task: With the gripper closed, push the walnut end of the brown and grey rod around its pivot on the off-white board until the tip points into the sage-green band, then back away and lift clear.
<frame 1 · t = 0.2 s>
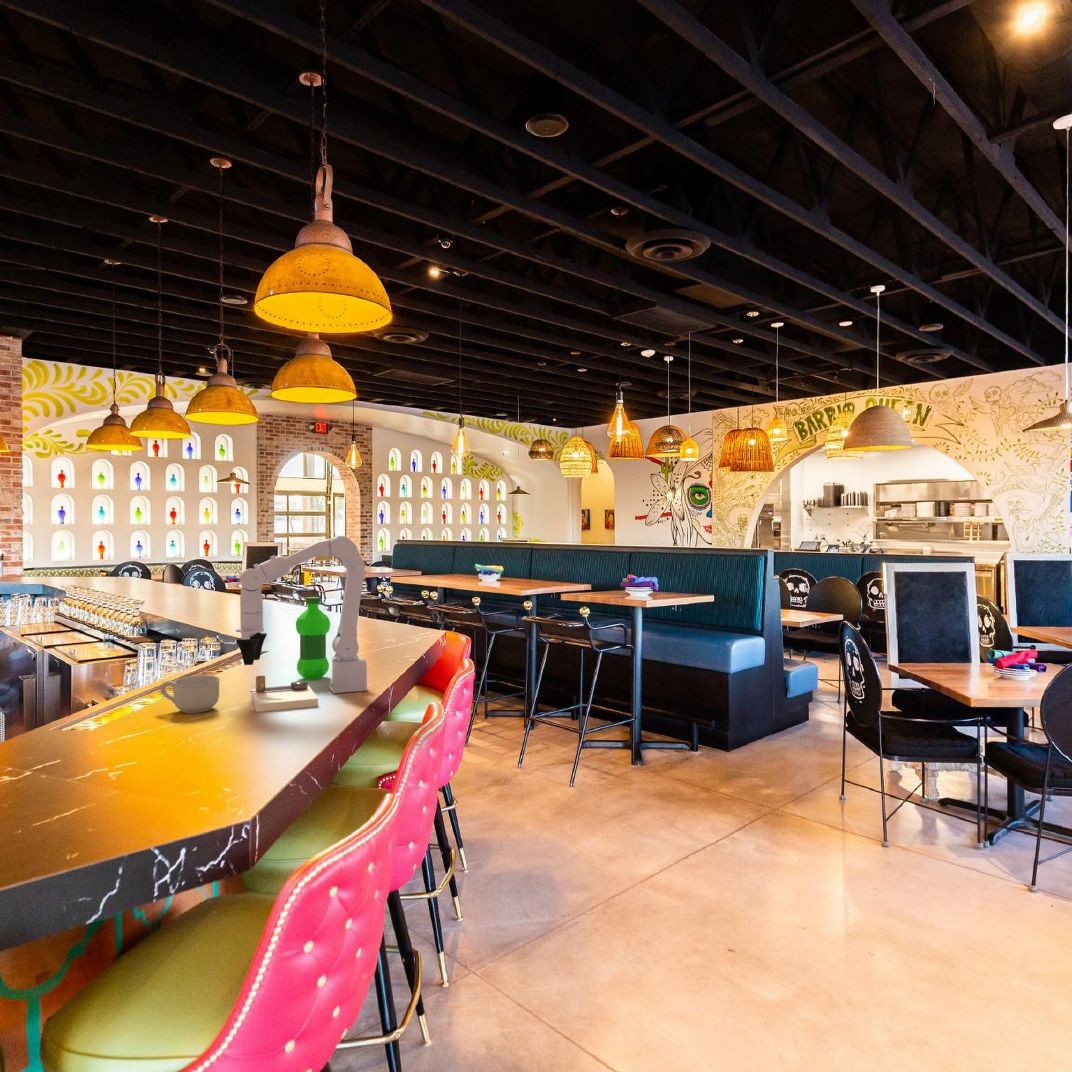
hand: (252, 662, 200), 10 cm above the bar counter, fingers open, 7 cm apart
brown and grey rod: (279, 682, 199), point 4 cm above the bar counter, hinge at 0.0°
teacup: (190, 711, 185), on the bar counter
plastic bottle: (312, 678, 227), on the bar counter
dial board: (283, 701, 195), on the bar counter
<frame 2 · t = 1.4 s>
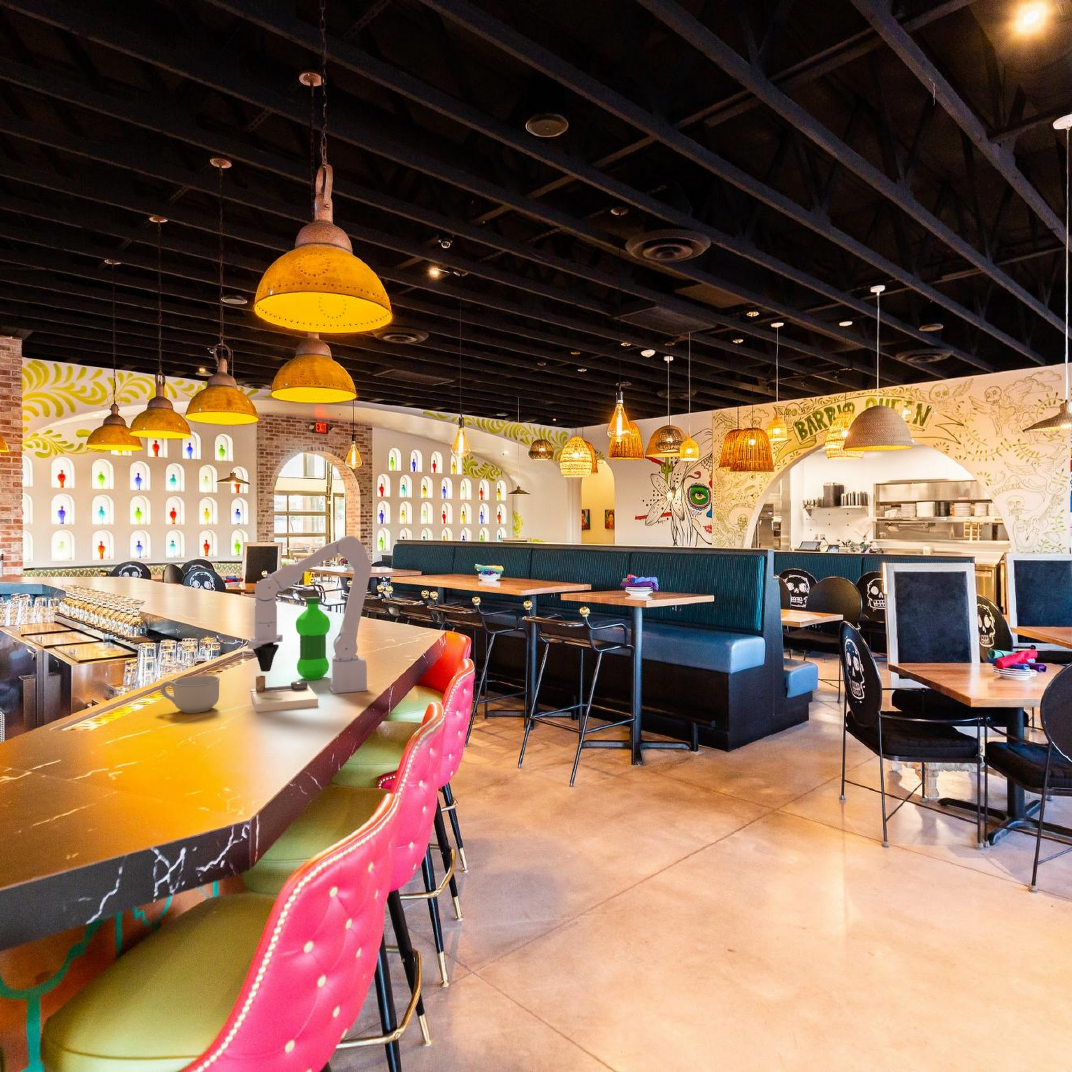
hand: (265, 671, 203), 7 cm above the bar counter, fingers closed
nothing on the bar counter moved.
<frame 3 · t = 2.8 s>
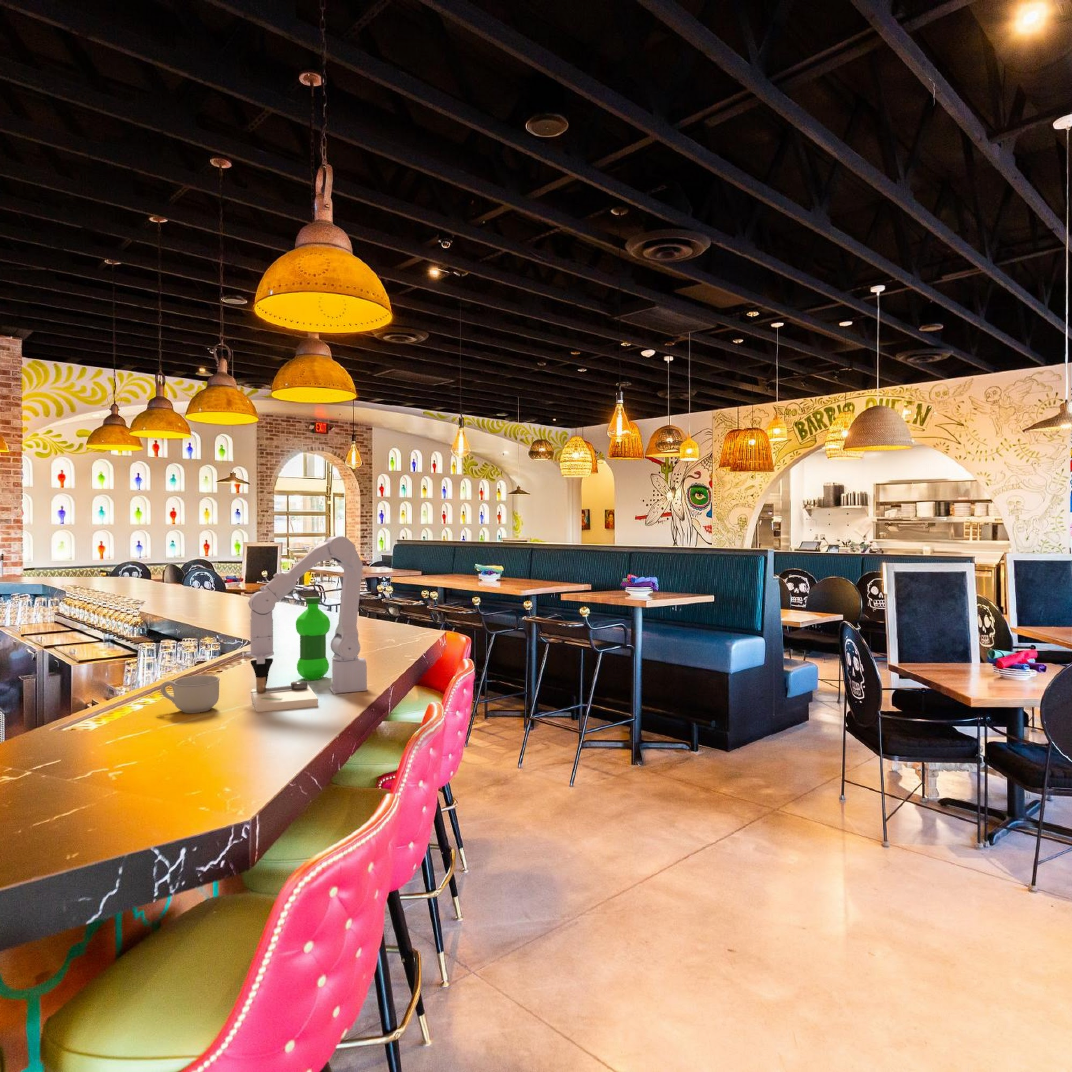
hand: (261, 686, 198), 3 cm above the bar counter, fingers closed
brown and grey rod: (279, 682, 198), point 4 cm above the bar counter, hinge at 6.1°, touching gripper
everything else where it was.
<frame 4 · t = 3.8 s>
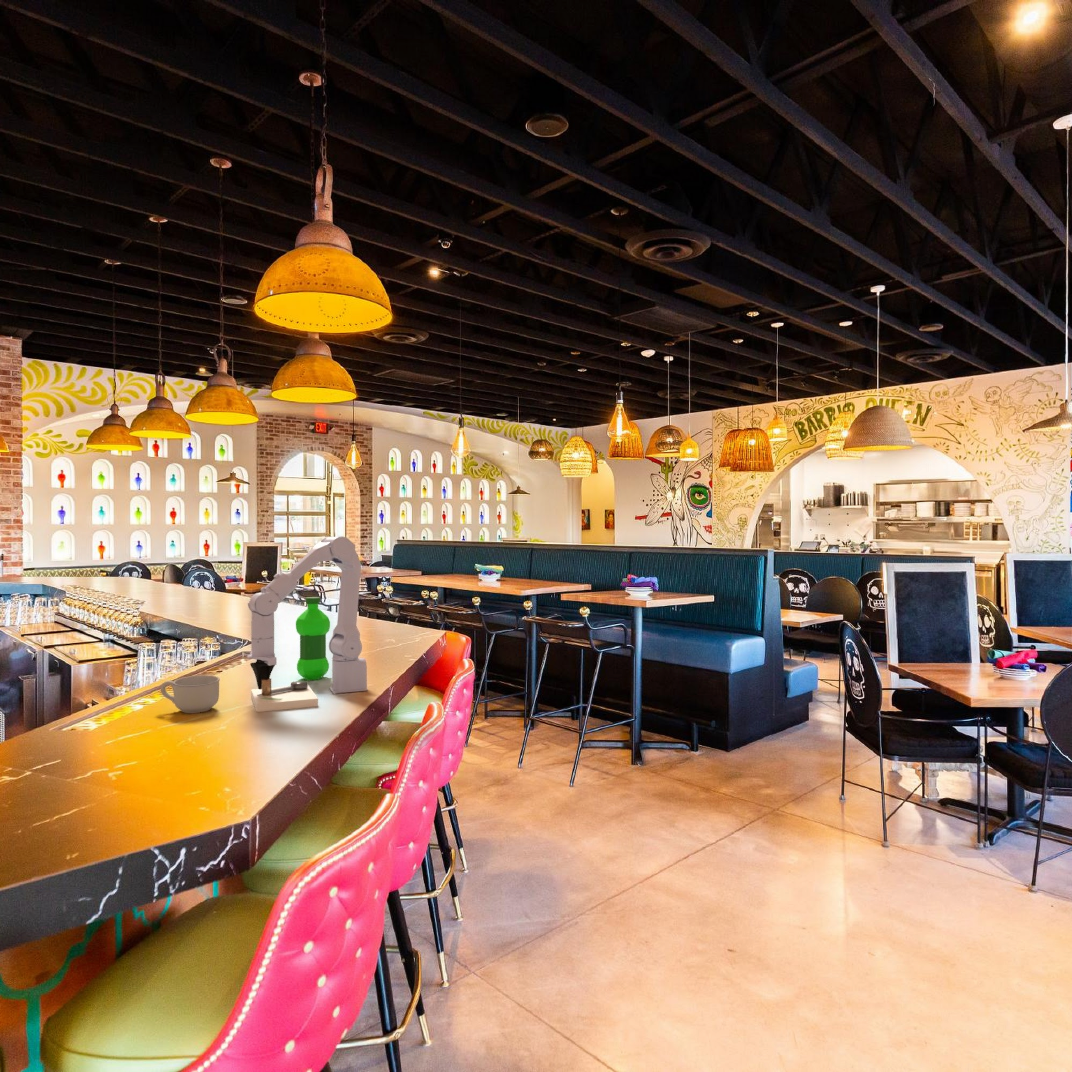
hand: (262, 688, 195), 3 cm above the bar counter, fingers closed
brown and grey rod: (282, 683, 197), point 4 cm above the bar counter, hinge at 27.6°, touching gripper
everything else where it was.
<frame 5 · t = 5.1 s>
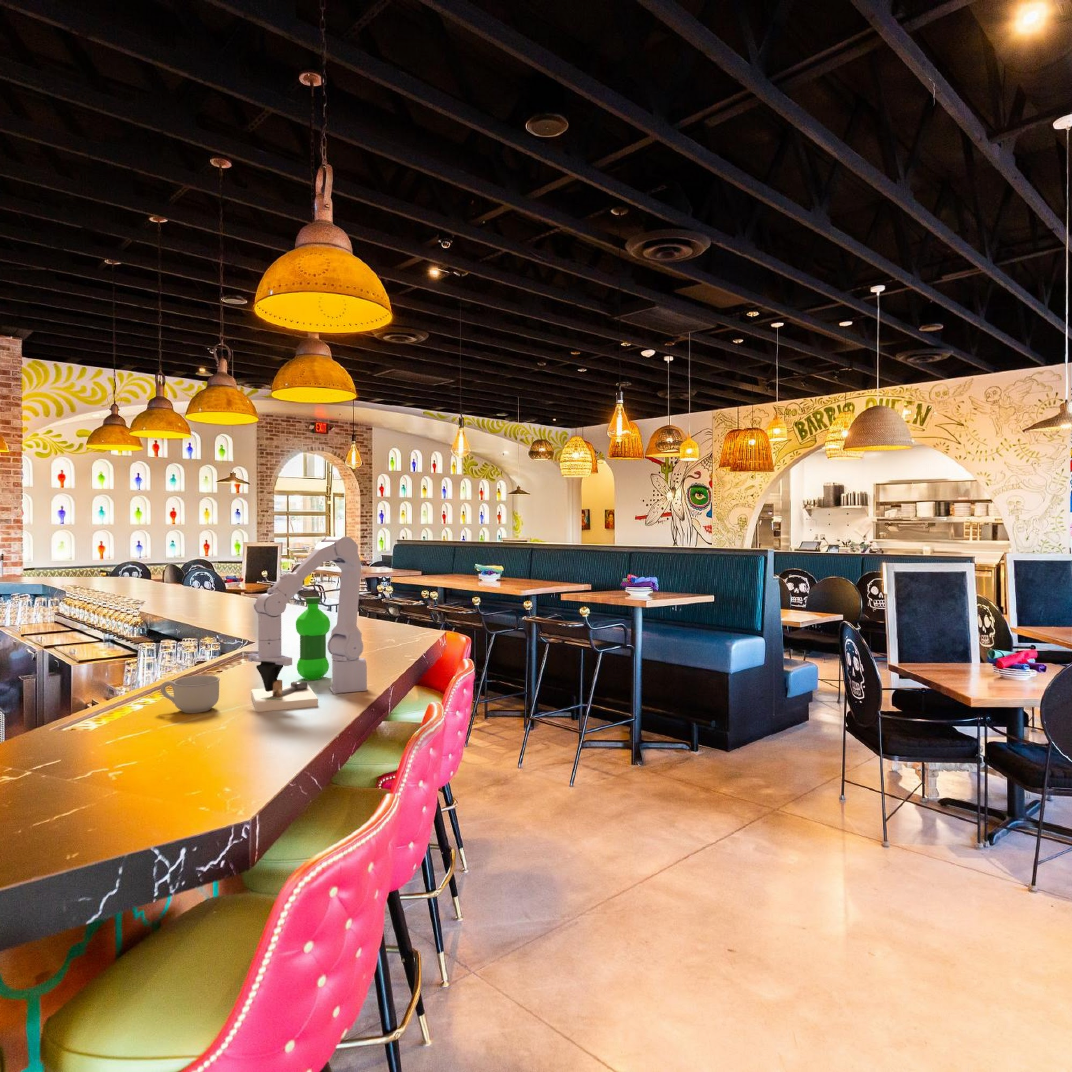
hand: (270, 690, 192), 3 cm above the bar counter, fingers closed
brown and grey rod: (288, 684, 196), point 4 cm above the bar counter, hinge at 50.3°, touching gripper
everything else where it was.
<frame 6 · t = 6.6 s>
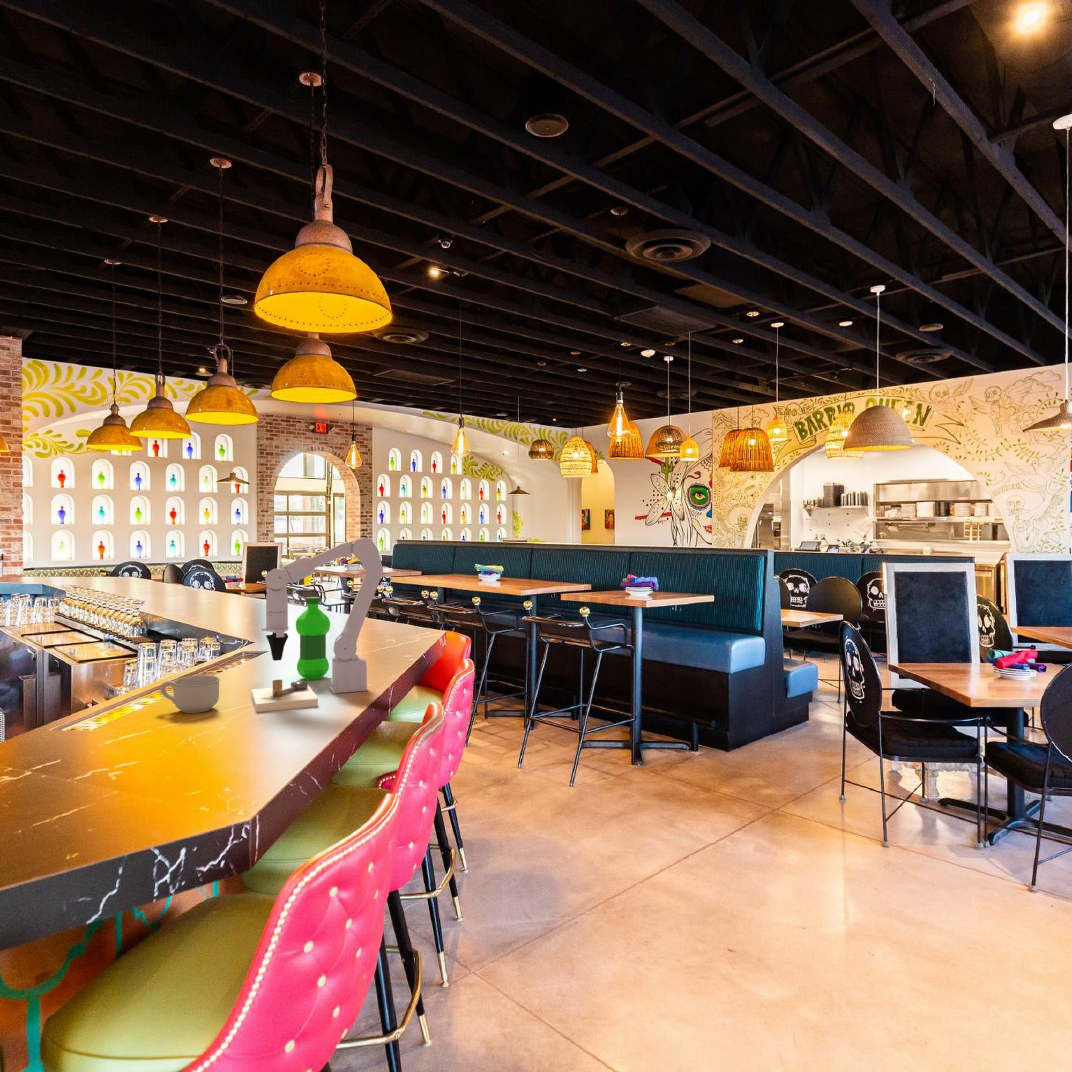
hand: (277, 660, 205), 9 cm above the bar counter, fingers closed
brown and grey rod: (288, 684, 196), point 4 cm above the bar counter, hinge at 50.3°
everything else where it was.
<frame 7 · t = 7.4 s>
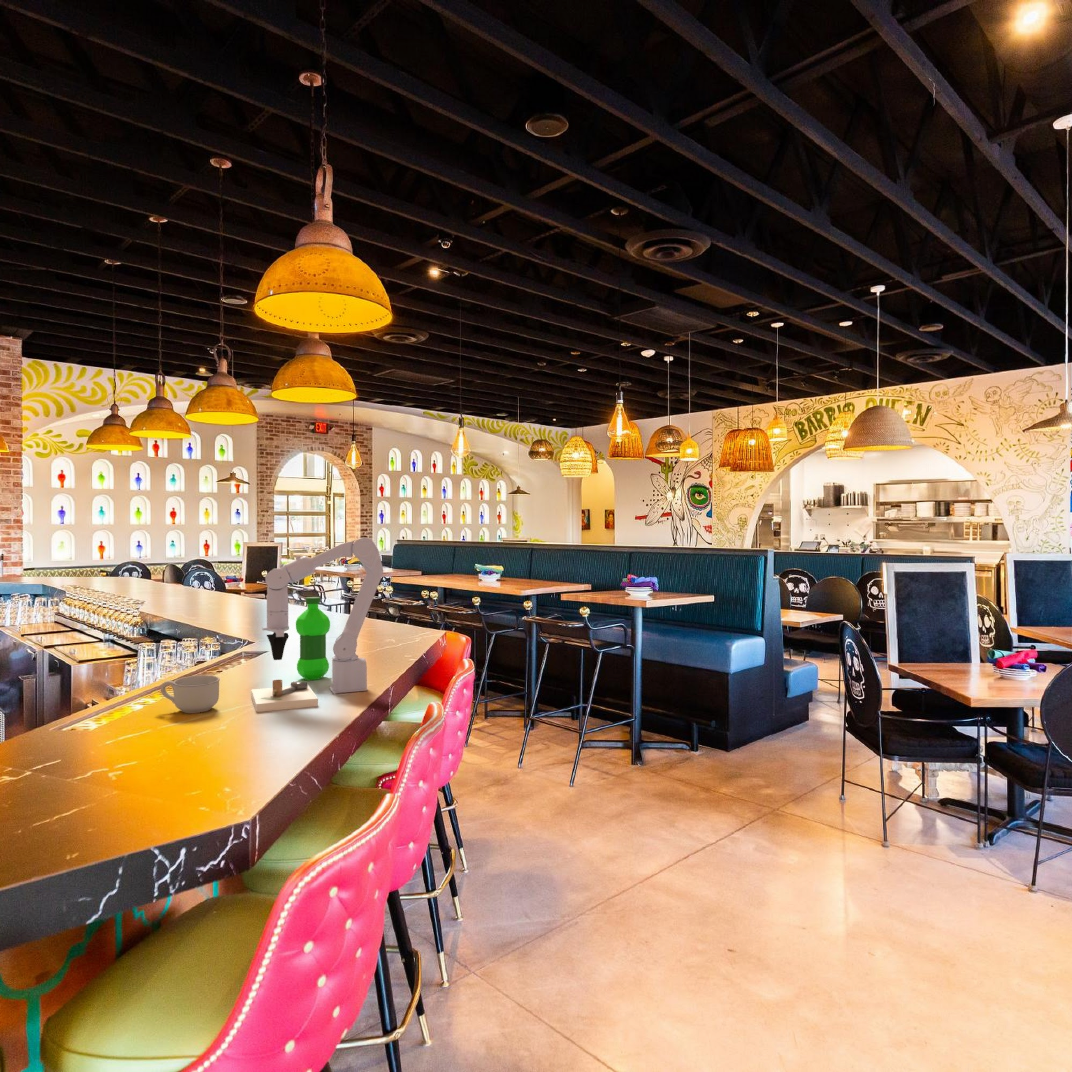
hand: (277, 659, 205), 9 cm above the bar counter, fingers closed
nothing on the bar counter moved.
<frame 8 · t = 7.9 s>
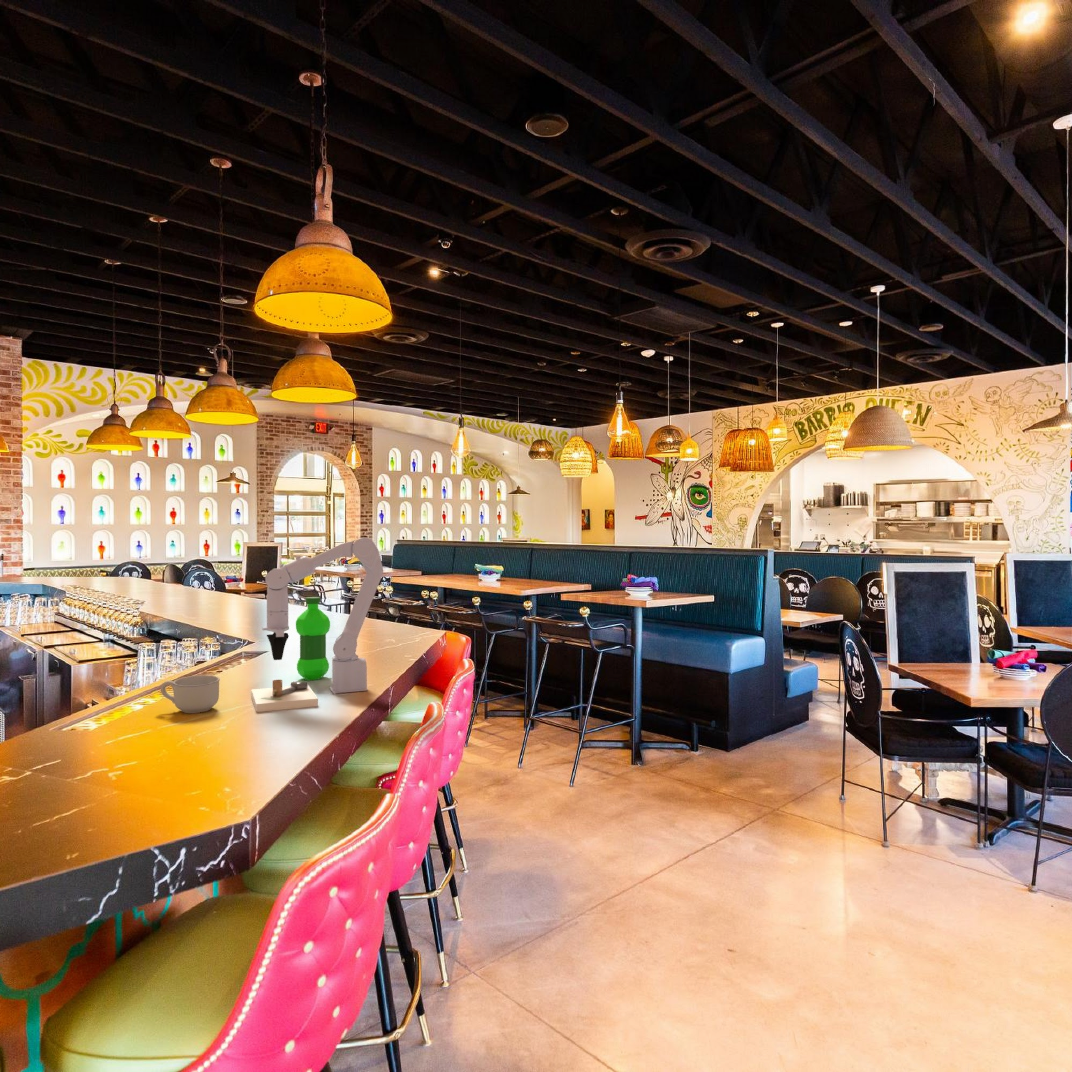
hand: (277, 659, 205), 9 cm above the bar counter, fingers closed
nothing on the bar counter moved.
at the end: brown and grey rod at +50° (first picture: +0°); the gripper is holding nothing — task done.
